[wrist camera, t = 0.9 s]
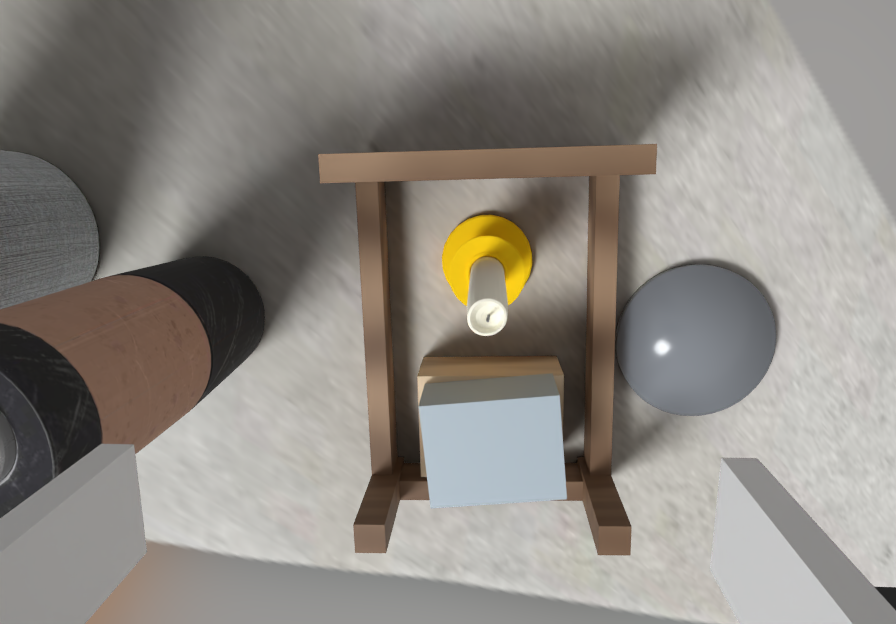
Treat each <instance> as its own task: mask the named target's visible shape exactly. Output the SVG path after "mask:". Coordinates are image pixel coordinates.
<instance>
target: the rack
mask: <svg viewBox="0 0 896 624" xmlns="http://www.w3.org/2000/svg"><path fill="white" fill-rule="evenodd" d="M656 156H657V144H642V145H609V146H576V147H542V148H509V149H475V150H442V151H408V152H375V153H342V154H318V159H319V174H320V183H348V182H355V187H356V205H357V222H358V240H359V257H360V275H361V292H362V310H363V327H364V345H365V362H366V379H367V397H368V414H369V432H370V449H371V467H372V476H371V479H370V482H369V484H368V487H367V490H366V492H365V495H364V498H363V500H362V503H361V506H360V509H359V511H358V514H357V517H356V519H355V522H354V525H353V526H354V541H355V553H386V551H387V547H388V543H389V540H390V536H391V532H392V528H393V524H394V521H395V517H396V513H397V509H398V505H399V501H400V500H430V498H429V490H428V482H427V477H421V464H420V463H404V457H398V453H397V432H396V411H395V390H394V369H393V348H392V327H391V306H390V285H389V264H388V243H387V222H386V201H385V181H422V180H459V179H496V178H533V177H570V176H589V213H588V266H587V319H586V372H585V425H584V457H577V463H564V464H565V478H566V492H567V499H564V500H551V501H583V504H584V507H585V511H586V514H587V518H588V521H589V525H590V528H591V532H592V535H593V539H594V542H595V546H596V549H597V553H598V555H630V551H631V524H630V522H629V519H628V517H627V514H626V512H625V509H624V507H623V504H622V502H621V499H620V497H619V494H618V492H617V489H616V487H615V484H614V482H613V479H612V477H611V459H612V424H613V389H614V355H615V320H616V285H617V250H618V215H619V181H620V175H644V174H656Z"/></svg>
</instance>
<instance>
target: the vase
mask: <svg viewBox="0 0 896 624" xmlns="http://www.w3.org/2000/svg"><path fill="white" fill-rule="evenodd" d="M98 258H99V234H98V229H97V224H96V221H95V218H94V215H93V212H92V210H91V208H90V206H89V204H88V202H87V200H86V198H85V197H84V195H83V194H82V192H81V191H80V189H79V188H78V187H77V186H76V184H75V183H74V182H73V181H72V180H71V179H70V178H69V177H68V176H67V175H66V174H64V173H63V172H62V171H61V170H59V169H58V168H57V167H55V166H54V165H52V164H50V163H48V162H47V161H45V160H43V159H40V158H38V157H36V156H32V155H29V154H25V153H20V152H13V151H4V150H0V309H4V308H7V307H10V306H13V305H17V304H20V303H23V302H26V301H30V300H33V299H36V298H39V297H43V296H46V295H49V294H52V293H56V292H59V291H62V290H65V289H69V288H72V287H75V286H78V285H81V284H85V283H88V282H91V280H92V278H93V276H94V273H95V271H96V267H97V264H98Z"/></svg>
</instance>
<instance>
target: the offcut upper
mask: <svg viewBox="0 0 896 624" xmlns="http://www.w3.org/2000/svg"><path fill="white" fill-rule="evenodd" d="M418 407H419V415H420V423H421V432H422V440H423V448H424V457H425V465H426V473H427V482H428V490H429V498H430V507H431V508H444V507H459V506H474V505H489V504H504V503H519V502H534V501H549V500H564V499H567V492H566V478H565V464H564V450H563V436H562V422H561V408H560V395H559V392H558V389H557V386H556V383H555V380H554V377H553V373H550V374H537V375H525V376H513V377H501V378H488V379H476V380H464V381H451V382H439V383H427V384H425V385H424V388H423V392H422V396H421V399H420V403H419V406H418Z"/></svg>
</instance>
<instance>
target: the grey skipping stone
mask: <svg viewBox="0 0 896 624" xmlns="http://www.w3.org/2000/svg"><path fill="white" fill-rule="evenodd" d="M775 345H776V328H775V321H774V318H773V314H772V311H771V309H770V307H769V304H768V303H767V301H766V299H765V298H764V296H763V295H762V294H761V293H760V291H759V290H758V289H757V288H756V287H755V286H754V285H753V284H752V283H750V282H749V281H748V280H746V279H745V278H743V277H742V276H740V275H738V274H736V273H734V272H732V271H730V270H727V269H724V268H721V267H718V266H712V265H704V264H693V265H684V266H679V267H675V268H672V269H669V270H666V271H664V272H662V273H660V274H658V275H656V276H655V277H653V278H652V279H650V280H648V281H647V282H646V283H645V284H643V285H642V286H641V287H640V288H639V289H638V290H637V291H636V292H635V293H634V294H633V295H632V297H631V298H630V300H629V301H628V302H627V304H626V306H625V308H624V309H623V311H622V313H621V316H620V319H619V321H618V325H617V329H616V337H615V351H616V356H617V361H618V364H619V367H620V370H621V372H622V374H623V376H624V377H625V379H626V381H627V382H628V383H629V385H630V386H631V388H632V389H633V390H634V391H635V392H636V393H637V395H638V396H640V397H641V398H642V399H643V400H644V401H646V402H647V403H649V404H650V405H652V406H654V407H656V408H658V409H660V410H662V411H665V412H668V413H672V414H677V415H684V416H699V415H706V414H712V413H715V412H718V411H721V410H724V409H726V408H728V407H731V406H732V405H734V404H736V403H737V402H739V401H741V400H742V399H743V398H745V397H746V396H747V395H748V394H749V393H750V392H751V391H753V390H754V389H755V388H756V386H757V385H758V384H759V383H760V381H761V380H762V379H763V377H764V375H765V374H766V372H767V370H768V368H769V366H770V364H771V362H772V358H773V355H774V351H775Z"/></svg>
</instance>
